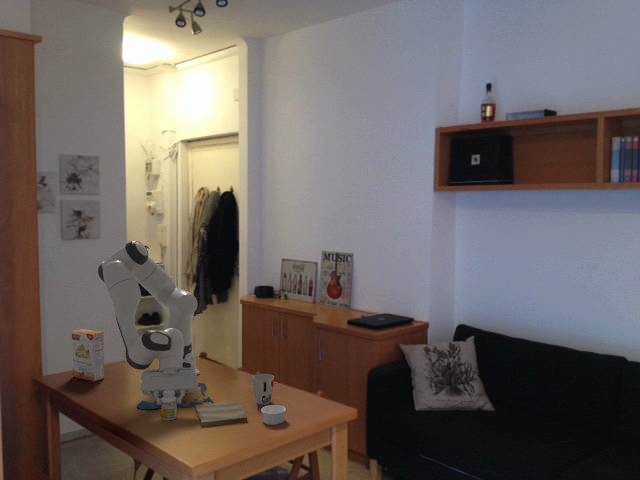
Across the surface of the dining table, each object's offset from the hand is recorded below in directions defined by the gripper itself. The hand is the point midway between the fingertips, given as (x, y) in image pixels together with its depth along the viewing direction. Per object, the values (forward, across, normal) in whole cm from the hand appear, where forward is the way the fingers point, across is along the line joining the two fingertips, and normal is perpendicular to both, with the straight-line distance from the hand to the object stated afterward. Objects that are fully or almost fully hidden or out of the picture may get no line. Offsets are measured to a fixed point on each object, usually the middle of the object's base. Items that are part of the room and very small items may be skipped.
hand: (168, 403), depth 209 cm
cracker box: (-35, -39, +43) cm, 68 cm away
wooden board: (+4, +18, +4) cm, 19 cm away
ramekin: (+10, +37, -1) cm, 38 cm away
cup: (-5, +35, +13) cm, 37 cm away
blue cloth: (-14, 0, +22) cm, 26 cm away
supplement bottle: (+4, 0, +4) cm, 6 cm away
